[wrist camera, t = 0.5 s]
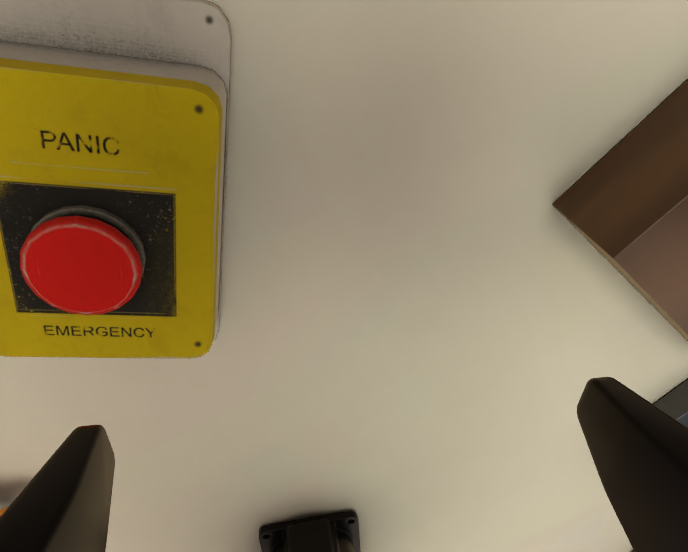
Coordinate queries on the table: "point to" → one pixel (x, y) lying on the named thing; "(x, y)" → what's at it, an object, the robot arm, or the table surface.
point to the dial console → (642, 208)
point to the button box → (676, 404)
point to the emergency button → (112, 176)
